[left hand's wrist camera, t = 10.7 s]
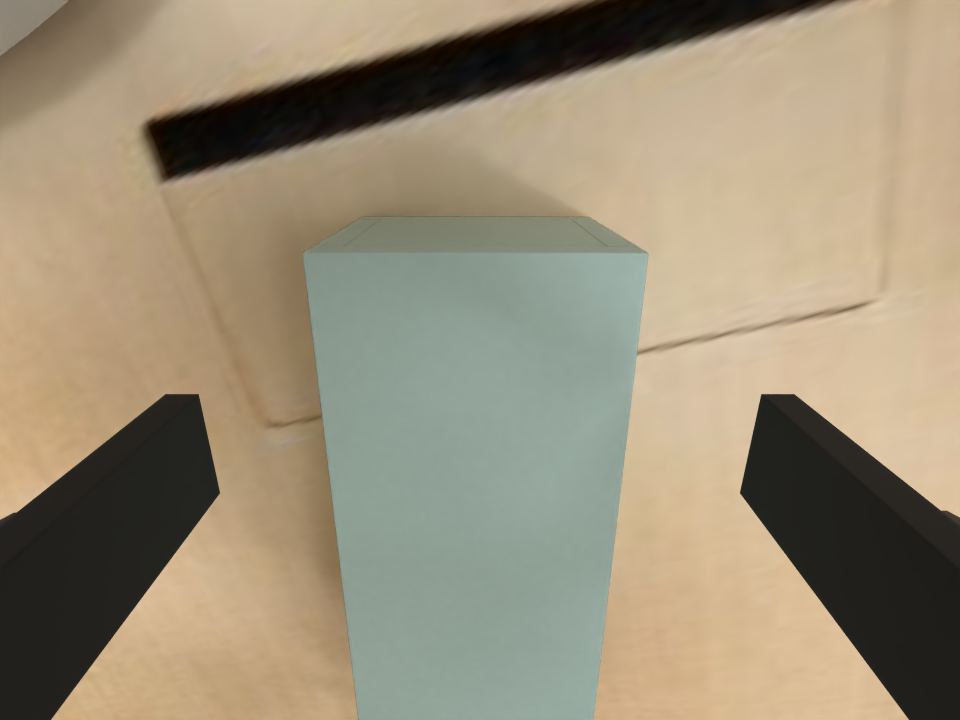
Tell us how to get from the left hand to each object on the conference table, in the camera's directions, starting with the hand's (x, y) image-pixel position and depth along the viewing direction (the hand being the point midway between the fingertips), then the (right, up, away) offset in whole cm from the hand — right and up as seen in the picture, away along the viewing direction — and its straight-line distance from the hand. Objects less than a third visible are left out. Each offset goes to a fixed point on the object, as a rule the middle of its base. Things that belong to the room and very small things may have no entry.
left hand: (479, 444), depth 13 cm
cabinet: (0, -2, +16) cm, 16 cm away
